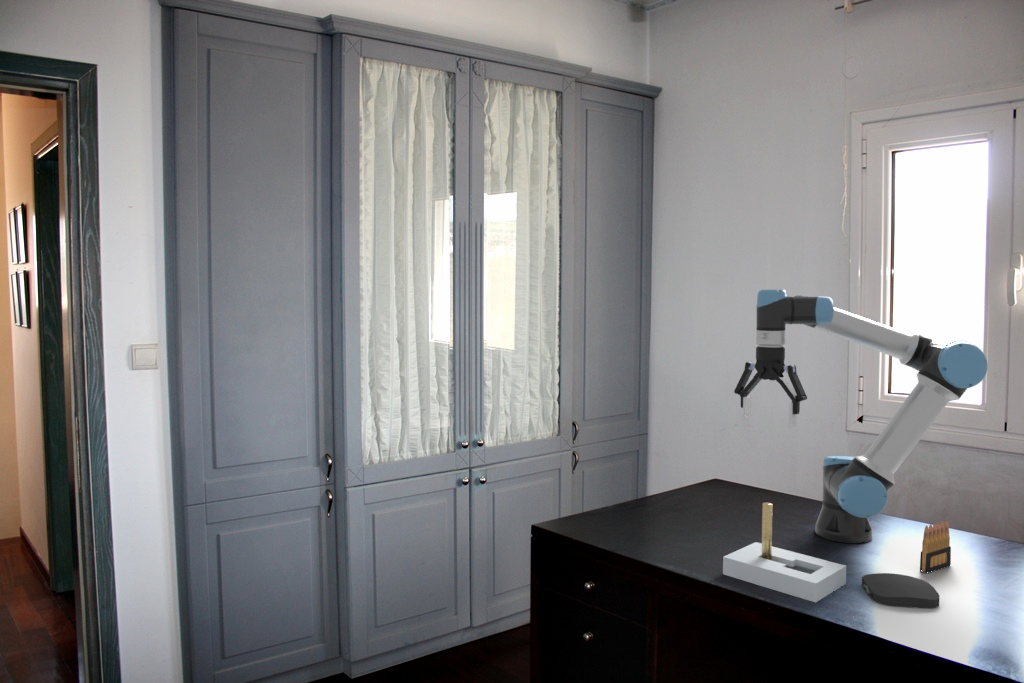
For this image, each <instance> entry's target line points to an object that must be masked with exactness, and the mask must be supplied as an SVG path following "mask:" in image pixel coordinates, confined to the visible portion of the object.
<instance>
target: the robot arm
mask: <svg viewBox="0 0 1024 683" xmlns="http://www.w3.org/2000/svg"><path fill="white" fill-rule="evenodd" d="M755 308H756V333H755V334H756V337H755V340H756V341H755V344H756V345H758V346H756V347H755V360H756V361H755V362H753V361H746V362H745V363H744V369H743V372H742V374H741V376H740V378H739V380H738V383H737V384H736V387H735V388H734V390H733V392H734V394H736V395H738V396H739V397H740V408H742V421H749V420H751V403H752V402H751V398H752V397H751V396H749V394H750V393H751V392H752V391H753V390H754V389H755V388H756V386H757V385H758V384H759V382H761V381H762V380H764V381H765V380H766V381H767V380H769V381H775V382H777V383H778V384H779V385H780V386H781V388H782V390H784V392H785V393H786V395H787V396H788V397H789V399H790V400H791V401H790V402H789V403H788V427H790V428H793V427H796V426H797V415H799V414H800V410H801V409H800V407H801V406H800V405H801V404H800V403H801V402H802V401H803V402H804V401H806V400H808V396H807V394H806V392H805V389H804V387H803V385H802V383H801V381H800V378H799V375H798V373H797V366H796V364H789V365H785V364H786V363H785V359H786V357H785V356H786V348H785V347H784V345H786V325H804V326H806V327H809V328H812V329H815V330H818V331H821V332H823V333H827V334H830V335H832V336H835V337H838V338H841V339H844V340H847V341H848V342H852V343H855V344H857V345H860V346H862V347H866V348H869V349H870V350H874V351H876V352H880V353H882V354H883V355H888V356H889V357H892V358H896V359H898V360H899V362H900V364H902V365H904V366H907V367H910V368H912V369H913V370H916V371H918V372H917V373H916V377H917V384H916V385H915V386H914V388H913V389H912V391H911V392H910V393H909V394H908V396H907V397H906V399H905V400H904V401H903V403H902V404H900V407H899V408H898V409H897V410H896V412H895V413H894V414H893V416H892V417H891V419H889V421H888V423H887V424H886V425H885V426H884V428H883V429H882V430H881V432H880V433H879V434H878V435H877V437H876V438H875V440H874V441H873V443H872V444H871V445H870V447H869V448H868V449H867V450H866V451H865V453H864V454H862V455H856V456H850V455H849V456H848V455H847V456H846V455H829V456H828V455H827V456H826V457H825V458H824V459H823V465H822V506H821V509H820V512H819V514H818V517H817V520H816V522H815V526H814V527H815V529H814V530H815V531H814V532H815V534H816V535H817V536H819V537H821V538H823V539H826V540H829V541H833V542H838V543H845V544H847V543H848V544H862V542H864V543H868V542H870V541H871V540H872V539H873V529H872V525H871V523H870V520H869V518H872V517H875V516H877V515H878V514H880V513H881V512H882V511H883V510H884V509H885V507H886V506H887V504H888V499H889V498H888V493H889V491H890V490H891V489H892V488H893V486H894V485H895V483H896V481H895V477H894V476H895V473H896V472H897V470H898V469H899V468H900V467H901V465H902V464H903V463H904V461H905V460H906V459H907V457H908V456H909V454H910V453H911V452H912V451H913V449H914V448H915V447H916V445H917V444H918V443H919V442H920V441H921V439H922V438H923V436H924V435H925V434H926V432H927V431H928V430H929V428H930V427H931V426H932V425H933V423H934V422H935V421H936V420H937V418H938V416H940V414H941V413H942V412H943V410H944V409H945V408H946V406H947V405H948V404H949V402H952V401H956V400H960V399H961V397H962V396H963V394H964V393H965V392H966V391H967V390H968V389H971V388H973V387H975V386H977V385H979V384H980V383H981V382H982V381H983V380H984V379H985V377H986V375H987V372H988V360H987V357H986V354H985V353H984V352H983V351H982V349H981V348H979V347H978V346H976V345H974V344H972V343H970V342H968V341H965V340H955V339H949V338H942V337H937V336H936V337H935V336H931V335H925V334H923V333H920V332H916V331H914V332H911V333H908V332H905V331H903V330H900V329H897V328H894V327H891V326H889V325H886V324H883V323H880V322H876V321H874V320H871V319H870V318H866V317H863V316H861V315H858V314H854V313H851V312H849V311H847V310H843V309H842V308H841V309H840V308H837V307H835V306H834V301H833V299H832V298H831V297H829V296H820V295H819V296H804V295H801V294H800V295H795V296H788V295H787V292H786V290H785V289H761V290H759V291H758V292H757V300H756V307H755ZM754 370H755V371H756V373H755V374H754V376H753V377H752V379H751V380H750V377H751V375H752V374H753V371H754ZM784 372H785V373H786V374H788V375H787V376H788V378H789V380H790V381H788V378H787V376H786V375H785V374H784ZM749 380H750V381H749ZM748 381H749V382H748Z"/></svg>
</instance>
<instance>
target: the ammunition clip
mask: <svg viewBox="0 0 1024 683" xmlns="http://www.w3.org/2000/svg"><path fill="white" fill-rule="evenodd" d="M950 539H951V538H950V525H949V520H948V519H946V520H945V521H944V520H942V521H941V522H939V521H938V522H937V523H936V522H934V523H933V524H931V523H930V524H929V526H928V525H925V527H924V530H923V539H922V542H921V543H922V545H921V546H922V548H921V551H920V558H919V559H920V560H919V572H921V570H922V571H923V572H922V573H924V572H926V573H925V574H928V573H927V572H930V573H932V572H931V571H933V572H935V571H934V570H936V571H939V570H942V569H945V568H947V566H948V567H951V566H950V565H952V562H951V561H952V560H951V559H952V558H951V556H952V554H951V553H952V550H951V549H952V546H951V545H950V544H951V543H950ZM944 567H945V568H944ZM941 568H942V569H941ZM938 569H939V570H938Z"/></svg>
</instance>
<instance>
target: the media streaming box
mask: <svg viewBox="0 0 1024 683" xmlns="http://www.w3.org/2000/svg"><path fill="white" fill-rule="evenodd" d="M861 587H862V588H863V590H864V591H865V593H866V595H867V596H868V598H870V599H871V600H872V601H874V602H875V603H877V604H880V605H883V606H888V607H902V608H914V607H918V608H917V609H936V608H938V607H939V606H940V594H939V592H938V590H937V589H936V588H935V587H934V586H933V585H932V584H931V583H930V582H928V581H926V580H923V579H921V578H918V577H914V576H911V575H906V574H900V573H887V572H877V573H868V574H865V575H863V576H861Z"/></svg>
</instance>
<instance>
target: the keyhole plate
mask: <svg viewBox="0 0 1024 683" xmlns="http://www.w3.org/2000/svg"><path fill="white" fill-rule="evenodd" d="M722 559H723V560H722V575H724V576H728V577H731V578H734V579H738V580H741V581H744V582H747V583H751V584H754V585H757V586H760V587H763V588H766V589H770V590H774V591H777V592H779V593H783V594H786V595H790V596H793V597H796V598H799V599H803V600H805V601H810V602H813V603H817V602H819V601H821V600H822V599H824V598H826V597H827V596H829V595H830V594H832V593H833V591H834V592H836V591H837V590H838V589H840V588H842V587H843V586H845V585H846V584H847V565H845V564H841V563H837V562H833V561H829V560H826V559H822V558H819V557H814V556H810V555H806V554H802V553H800V552H796V551H792V550H788V549H785V548H784V549H783V548H780V547H776V546H773V545H772V560H768V559H764V558H762V542H757V541H755V542H752V543H750V544H748V545H747V546H744V547H742V548H740V549H737V550H736V551H733V552H730V553H729V554H727V555H723V558H722ZM841 586H842V587H841Z"/></svg>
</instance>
